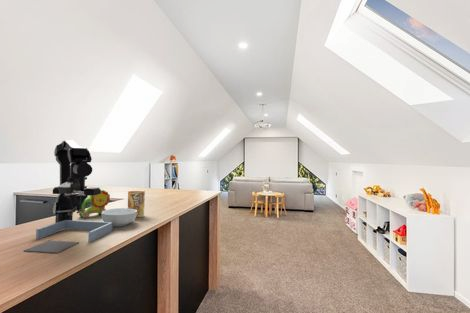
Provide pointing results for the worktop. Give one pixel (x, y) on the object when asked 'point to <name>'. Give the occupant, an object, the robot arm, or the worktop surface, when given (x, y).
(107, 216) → the cereal bowl
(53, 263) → the worktop surface
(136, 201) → the candy box
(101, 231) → the open box
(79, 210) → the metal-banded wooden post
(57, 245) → the mat
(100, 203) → the toy lion
